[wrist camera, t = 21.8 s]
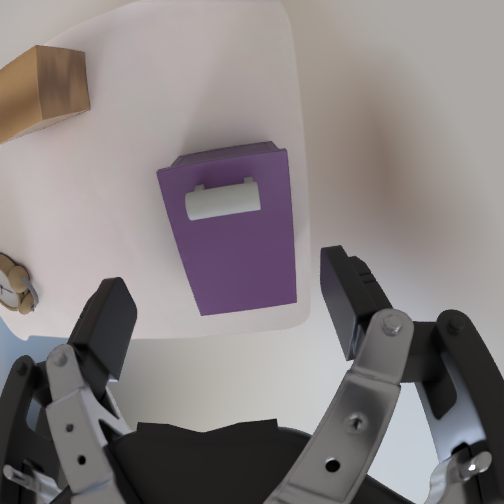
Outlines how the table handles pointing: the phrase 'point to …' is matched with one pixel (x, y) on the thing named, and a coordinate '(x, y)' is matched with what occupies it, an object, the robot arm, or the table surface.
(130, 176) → the table surface
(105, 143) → the table surface
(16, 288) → the alarm clock
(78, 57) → the stand
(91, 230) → the table surface
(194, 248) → the lid
